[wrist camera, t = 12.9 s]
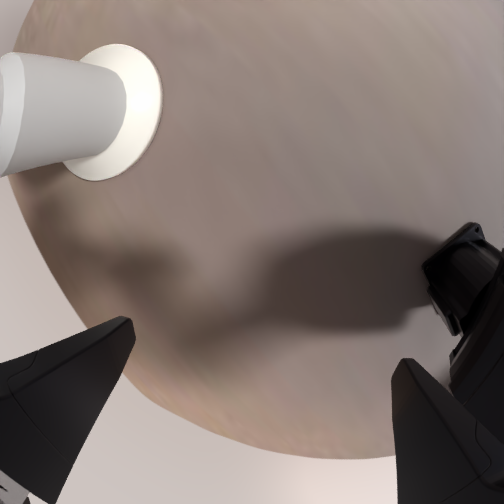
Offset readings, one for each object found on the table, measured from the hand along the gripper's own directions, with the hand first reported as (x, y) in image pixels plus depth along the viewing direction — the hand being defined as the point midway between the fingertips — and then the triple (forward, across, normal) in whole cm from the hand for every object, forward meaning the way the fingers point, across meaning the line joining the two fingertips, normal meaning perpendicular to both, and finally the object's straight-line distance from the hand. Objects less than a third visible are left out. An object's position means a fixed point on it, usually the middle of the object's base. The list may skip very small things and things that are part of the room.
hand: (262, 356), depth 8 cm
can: (+12, +16, -9) cm, 22 cm away
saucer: (+13, +16, -9) cm, 22 cm away
